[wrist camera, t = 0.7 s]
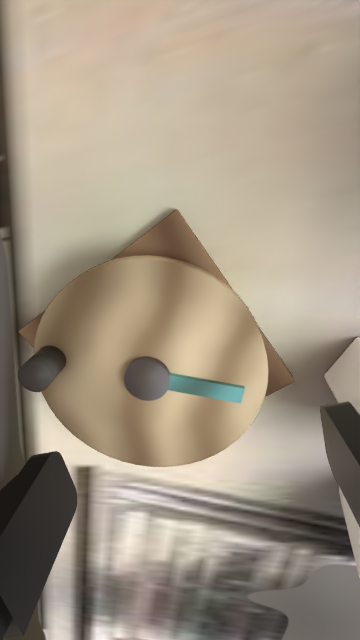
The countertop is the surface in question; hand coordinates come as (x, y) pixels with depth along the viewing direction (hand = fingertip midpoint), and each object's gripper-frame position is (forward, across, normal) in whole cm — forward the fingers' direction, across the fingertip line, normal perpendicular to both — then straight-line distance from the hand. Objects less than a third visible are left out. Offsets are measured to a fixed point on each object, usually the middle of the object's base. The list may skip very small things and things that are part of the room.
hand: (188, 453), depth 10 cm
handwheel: (+17, +5, +5) cm, 19 cm away
